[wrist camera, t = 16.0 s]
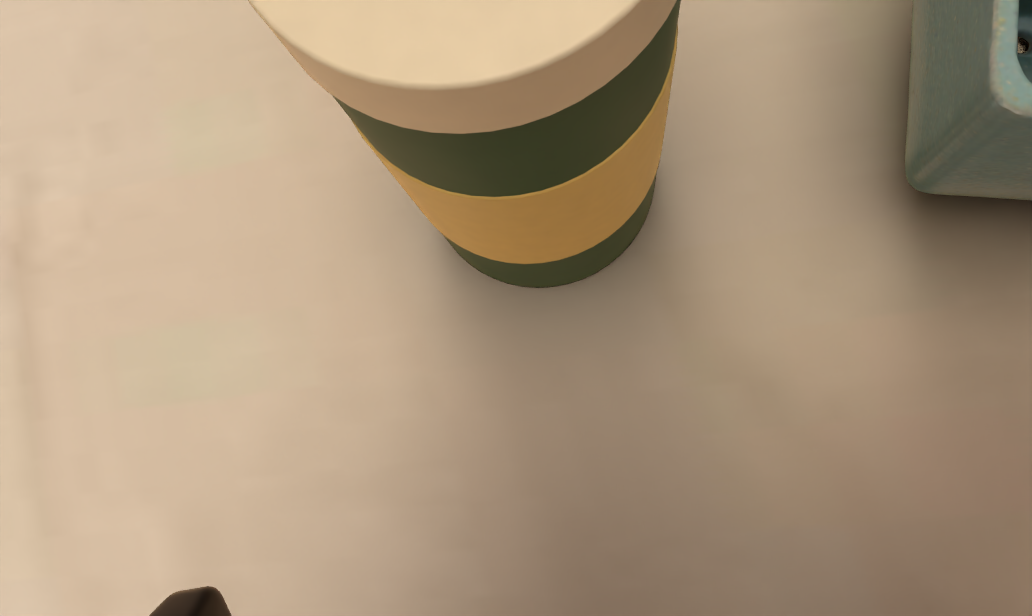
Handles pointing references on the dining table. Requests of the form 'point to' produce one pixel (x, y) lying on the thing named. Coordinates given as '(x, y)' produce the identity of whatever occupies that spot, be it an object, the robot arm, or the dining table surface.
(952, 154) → the flower pot
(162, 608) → the robot arm
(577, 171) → the cheese shaker
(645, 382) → the dining table surface
